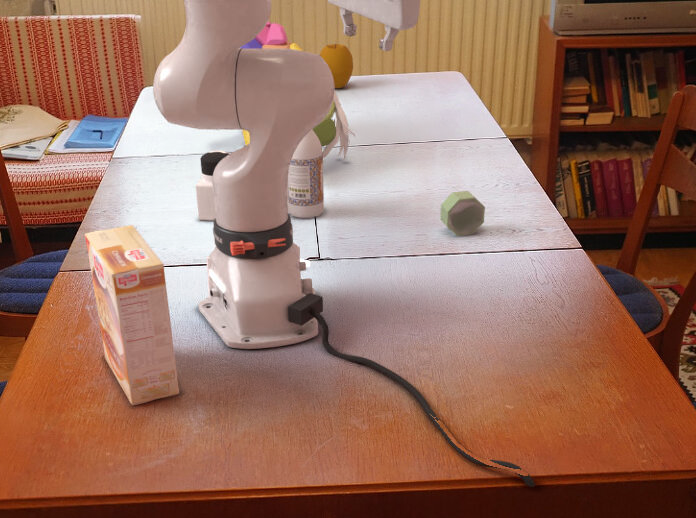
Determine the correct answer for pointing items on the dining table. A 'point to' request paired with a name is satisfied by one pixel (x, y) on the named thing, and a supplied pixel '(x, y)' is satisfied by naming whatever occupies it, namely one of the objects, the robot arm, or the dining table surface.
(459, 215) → the tin
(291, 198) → the bath foam
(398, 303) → the dining table surface
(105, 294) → the coffeecake box
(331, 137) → the colorful pinata
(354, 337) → the dining table surface
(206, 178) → the medicine bottle
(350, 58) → the apple
